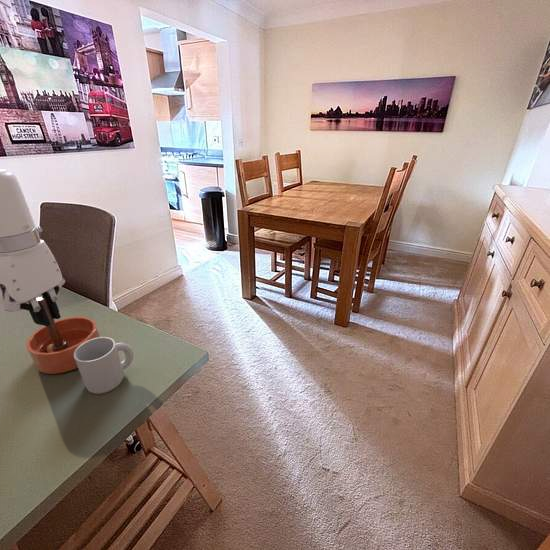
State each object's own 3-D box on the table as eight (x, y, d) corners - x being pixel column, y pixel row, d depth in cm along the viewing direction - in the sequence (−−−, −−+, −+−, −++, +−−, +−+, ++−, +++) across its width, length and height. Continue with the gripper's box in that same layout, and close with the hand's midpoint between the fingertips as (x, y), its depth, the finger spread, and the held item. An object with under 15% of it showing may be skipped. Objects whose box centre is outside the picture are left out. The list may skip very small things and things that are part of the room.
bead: (59, 352, 69) (52, 356, 70) (61, 344, 71) (55, 347, 71) (49, 349, 68) (42, 353, 68) (52, 341, 69) (45, 344, 70)
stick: (51, 354, 66) (28, 303, 60) (56, 346, 69) (34, 296, 63) (66, 352, 67) (44, 301, 61) (70, 344, 70) (49, 294, 63)
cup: (82, 379, 64) (70, 346, 60) (131, 358, 70) (123, 327, 66) (90, 401, 59) (77, 367, 55) (142, 376, 65) (134, 344, 61)
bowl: (25, 380, 63) (14, 359, 61) (49, 340, 75) (41, 320, 72) (94, 369, 66) (87, 349, 64) (107, 332, 78) (102, 313, 75)
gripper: (38, 225, 63) (66, 299, 72) (-51, 254, 50) (-4, 341, 58) (67, 228, 62) (92, 304, 70) (-18, 260, 48) (26, 348, 57)
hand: (48, 320), depth 64 cm, fingers closed on stick
